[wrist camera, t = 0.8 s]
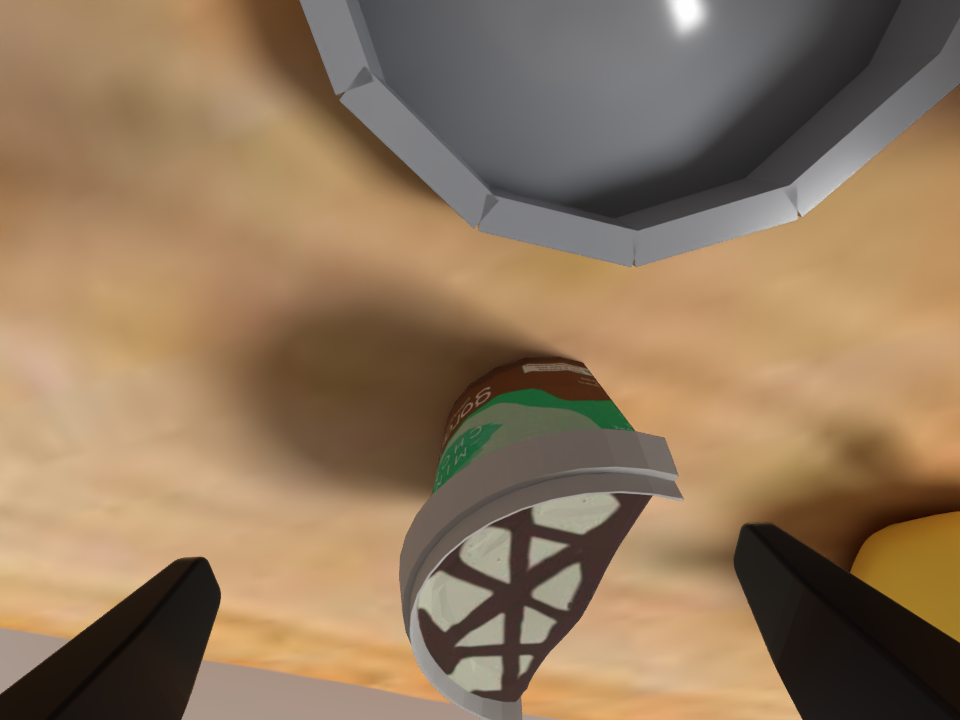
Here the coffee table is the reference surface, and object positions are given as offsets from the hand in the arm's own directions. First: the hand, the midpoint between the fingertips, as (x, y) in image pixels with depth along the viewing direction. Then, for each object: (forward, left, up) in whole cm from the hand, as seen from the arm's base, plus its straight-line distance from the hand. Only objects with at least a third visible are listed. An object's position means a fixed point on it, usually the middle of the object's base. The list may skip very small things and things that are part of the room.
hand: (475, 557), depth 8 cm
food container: (-2, +6, -14) cm, 15 cm away
